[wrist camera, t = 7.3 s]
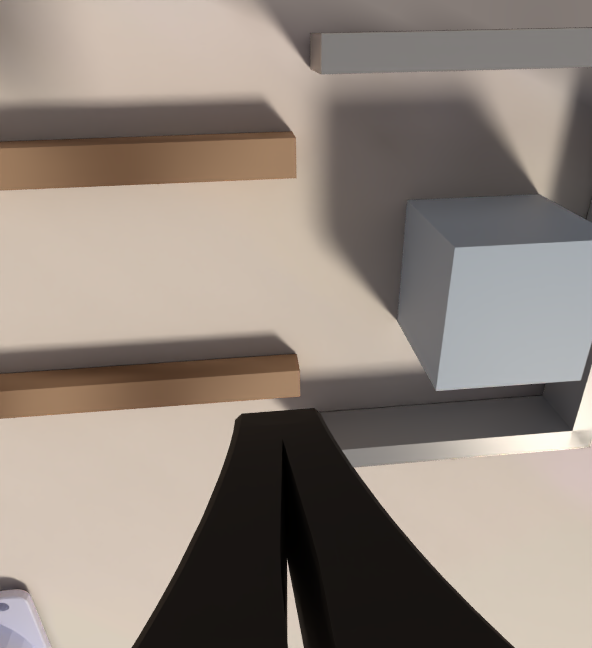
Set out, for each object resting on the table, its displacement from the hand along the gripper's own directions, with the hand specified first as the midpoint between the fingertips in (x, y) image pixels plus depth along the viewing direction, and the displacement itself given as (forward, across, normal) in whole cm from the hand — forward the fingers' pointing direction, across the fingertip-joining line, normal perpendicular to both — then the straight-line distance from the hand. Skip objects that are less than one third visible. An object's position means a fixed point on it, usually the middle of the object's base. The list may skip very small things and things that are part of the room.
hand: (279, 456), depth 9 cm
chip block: (+8, -6, 0) cm, 10 cm away
